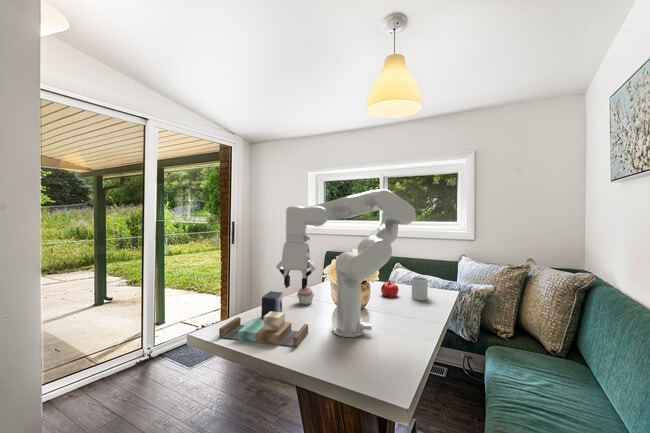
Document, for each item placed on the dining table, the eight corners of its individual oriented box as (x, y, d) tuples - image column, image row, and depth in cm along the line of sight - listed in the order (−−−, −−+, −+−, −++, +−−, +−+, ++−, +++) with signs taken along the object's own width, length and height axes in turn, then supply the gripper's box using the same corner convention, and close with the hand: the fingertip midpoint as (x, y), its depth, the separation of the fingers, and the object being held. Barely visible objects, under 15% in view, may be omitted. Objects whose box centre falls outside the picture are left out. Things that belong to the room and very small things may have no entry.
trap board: (308, 333, 120) (308, 324, 120) (297, 347, 107) (297, 337, 107) (237, 325, 127) (237, 317, 127) (219, 337, 115) (219, 328, 115)
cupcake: (300, 300, 165) (300, 281, 164) (316, 301, 162) (316, 282, 162) (293, 305, 156) (293, 285, 155) (311, 306, 153) (311, 287, 153)
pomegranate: (401, 295, 175) (402, 279, 175) (392, 299, 168) (393, 282, 168) (386, 292, 182) (386, 276, 182) (377, 295, 174) (377, 279, 174)
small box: (274, 322, 132) (274, 298, 131) (260, 321, 133) (260, 297, 133) (283, 314, 142) (283, 291, 142) (269, 313, 143) (269, 290, 143)
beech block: (284, 325, 118) (284, 312, 118) (278, 331, 113) (278, 317, 112) (270, 323, 120) (270, 311, 120) (263, 329, 114) (263, 316, 114)
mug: (424, 301, 163) (424, 281, 163) (408, 298, 169) (409, 279, 168) (431, 297, 173) (432, 277, 173) (417, 294, 178) (417, 275, 178)
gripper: (320, 239, 115) (320, 286, 115) (278, 238, 119) (278, 283, 120) (315, 241, 108) (315, 291, 108) (270, 239, 112) (270, 288, 112)
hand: (295, 287), depth 114 cm, fingers open, 5 cm apart
